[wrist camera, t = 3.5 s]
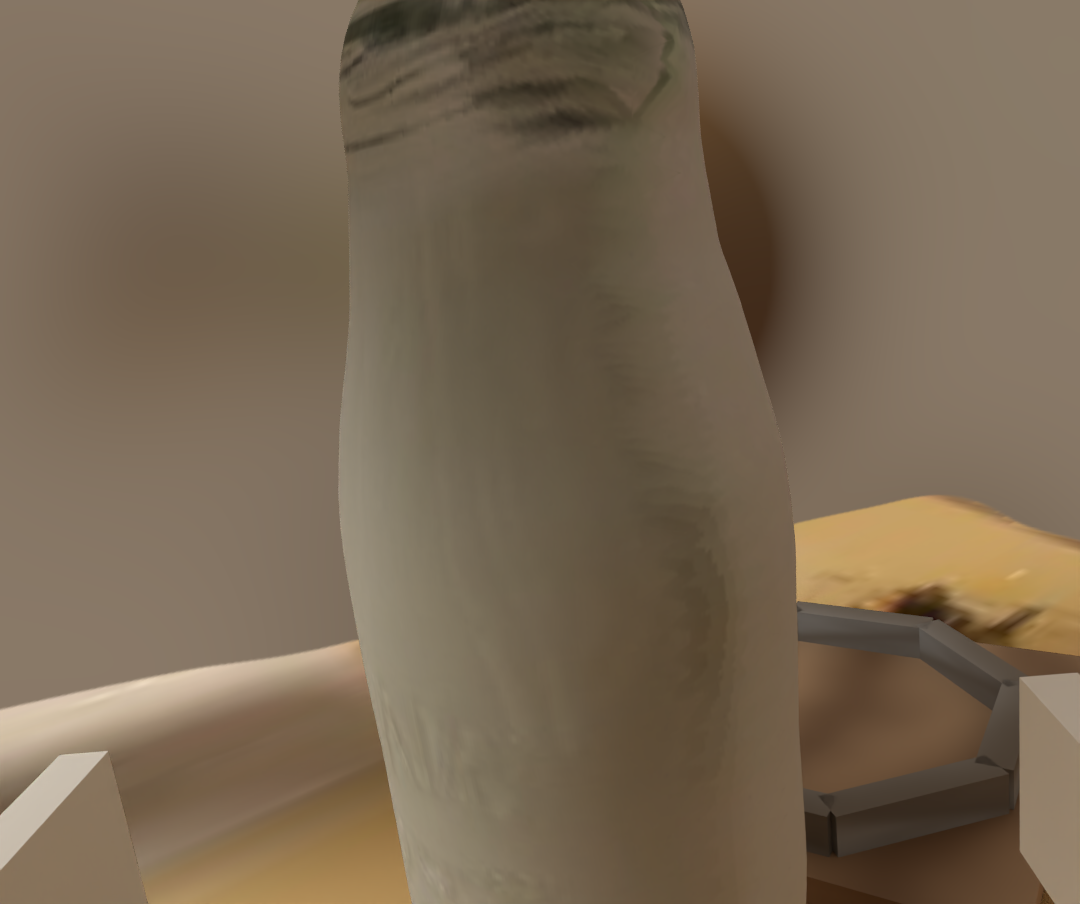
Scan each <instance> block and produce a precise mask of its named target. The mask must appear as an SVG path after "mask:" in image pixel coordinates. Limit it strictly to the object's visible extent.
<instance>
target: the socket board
mask: <svg viewBox="0 0 1080 904" xmlns="http://www.w3.org/2000/svg"><path fill="white" fill-rule="evenodd" d="M796 604H797V628H798V703H799V737H800V753H801V769H802V783H803V801H804V815H805V831H806V854H807V892H806V903H809V904H1041V902H1042V897H1043V892H1044V887H1043V885H1042V884H1041V882H1040V881H1039V879H1038V878H1037V876H1036V875H1035V873H1034V872H1033V870H1032V869H1031V867H1030V866H1029V864H1028V863H1027V861H1026V860H1025V858H1024V857H1023V855H1022V854H1021V852H1020V731H1019V677H1028V676H1041V675H1053V674H1065V673H1078V674H1080V656H1073V655H1066V654H1058V653H1051V652H1043V651H1036V650H1028V649H1021V648H1013V647H1006V646H998V645H991V644H983V643H976V642H974V641H972V640H970V639H969V638H967V637H966V636H964V635H962V634H961V633H959V632H958V631H956V630H955V629H953V628H951V627H950V626H948V625H947V624H945V623H943V622H942V621H940V620H935V621H933V618H930V617H922V616H914V615H906V614H898V613H889V612H881V611H873V610H865V609H857V608H849V607H841V606H832V605H824V604H816V603H808V602H800V601H798V602H797V603H796Z"/></svg>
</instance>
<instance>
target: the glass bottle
mask: <svg viewBox="0 0 1080 904" xmlns="http://www.w3.org/2000/svg"><path fill="white" fill-rule="evenodd" d="M339 78H340V81H339V100H340V115H341V127H342V134H343V141H344V148H345V155H346V163H347V173H348V193H349V194H348V195H349V253H350V254H349V258H350V313H349V332H348V346H347V358H346V368H345V376H344V385H343V396H342V406H341V418H340V439H339V511H340V525H341V535H342V544H343V551H344V558H345V565H346V571H347V577H348V583H349V588H350V594H351V599H352V606H353V611H354V616H355V621H356V627H357V633H358V639H359V644H360V649H361V654H362V659H363V664H364V669H365V674H366V679H367V684H368V688H369V693H370V697H371V702H372V707H373V711H374V715H375V719H376V724H377V729H378V734H379V738H380V742H381V747H382V752H383V757H384V762H385V766H386V771H387V777H388V782H389V787H390V792H391V797H392V803H393V808H394V813H395V818H396V824H397V829H398V834H399V840H400V845H401V850H402V856H403V861H404V866H405V871H406V877H407V882H408V887H409V892H410V897H411V901H412V904H806V892H807V854H806V831H805V815H804V801H803V783H802V769H801V753H800V737H799V703H798V628H797V604H796V547H795V534H794V524H793V515H792V504H791V496H790V489H789V482H788V475H787V468H786V461H785V455H784V450H783V446H782V441H781V437H780V433H779V429H778V426H777V422H776V419H775V416H774V412H773V408H772V405H771V402H770V399H769V395H768V392H767V389H766V386H765V382H764V379H763V376H762V372H761V369H760V365H759V362H758V358H757V355H756V352H755V348H754V345H753V342H752V338H751V335H750V332H749V329H748V326H747V322H746V319H745V316H744V313H743V309H742V306H741V303H740V300H739V297H738V294H737V291H736V288H735V285H734V283H733V280H732V277H731V274H730V272H729V268H728V266H727V263H726V261H725V258H724V256H723V253H722V250H721V246H720V243H719V239H718V235H717V229H716V224H715V218H714V213H713V208H712V203H711V197H710V191H709V185H708V181H707V176H706V170H705V163H704V156H703V150H702V142H701V133H700V120H699V97H698V82H697V69H696V60H695V51H694V45H693V40H692V36H691V32H690V29H689V25H688V22H687V19H686V15H685V12H684V8H683V6H682V3H681V1H680V0H359V1H358V3H357V5H356V7H355V9H354V11H353V14H352V17H351V19H350V22H349V26H348V29H347V32H346V36H345V41H344V46H343V51H342V56H341V65H340V77H339Z"/></svg>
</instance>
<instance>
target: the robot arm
mask: <svg viewBox="0 0 1080 904" xmlns="http://www.w3.org/2000/svg"><path fill="white" fill-rule="evenodd" d="M1019 731H1020V852H1021V854H1022V855H1023V857H1024V858H1025V860H1026V861H1027V863H1028V864H1029V866H1030V867H1031V869H1032V870H1033V872H1034V873H1035V875H1036V876H1037V878H1038V879H1039V881H1040V882H1041V884H1042V885H1043V887H1044V888H1045V890H1046V892H1047V893H1048V895H1049V896H1050V898H1051V899H1052V901H1053V902H1054V904H1080V674H1078V673H1065V674H1053V675H1041V676H1028V677H1019ZM0 904H148V902H147V898H146V894H145V890H144V886H143V882H142V878H141V875H140V871H139V867H138V863H137V859H136V855H135V851H134V848H133V844H132V840H131V836H130V832H129V828H128V824H127V821H126V817H125V813H124V809H123V805H122V801H121V797H120V794H119V790H118V786H117V782H116V778H115V774H114V770H113V766H112V763H111V759H110V755H109V751H100V752H88V753H75V754H63V755H59V756H58V757H57V758H56V759H55V760H54V761H53V762H52V763H51V764H50V765H49V766H48V767H47V768H46V769H45V770H44V771H43V772H42V773H41V774H40V775H39V776H38V777H37V778H36V779H35V780H34V781H33V782H32V783H31V784H30V785H29V786H28V787H27V788H26V790H25V791H24V792H23V793H22V794H21V795H20V796H19V797H18V798H17V799H16V800H15V801H14V802H13V803H12V804H11V805H10V806H9V807H8V808H7V809H6V810H5V811H4V812H3V813H2V814H1V815H0Z"/></svg>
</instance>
